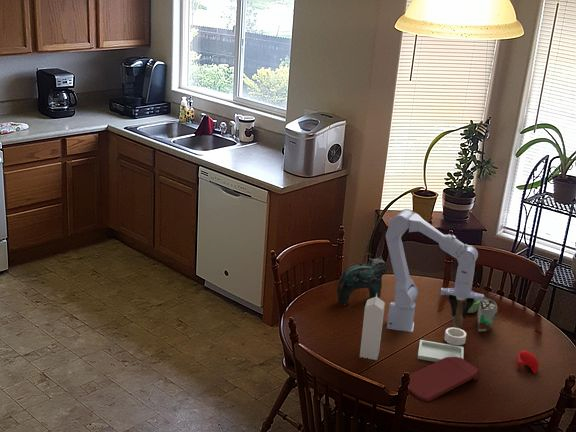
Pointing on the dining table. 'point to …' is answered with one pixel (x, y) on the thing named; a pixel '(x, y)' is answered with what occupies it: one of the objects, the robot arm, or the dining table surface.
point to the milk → (372, 328)
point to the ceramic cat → (361, 279)
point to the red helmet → (527, 360)
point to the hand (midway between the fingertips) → (458, 315)
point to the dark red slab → (441, 377)
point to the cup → (455, 336)
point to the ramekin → (473, 306)
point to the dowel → (459, 312)
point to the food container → (486, 314)
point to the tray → (438, 351)
